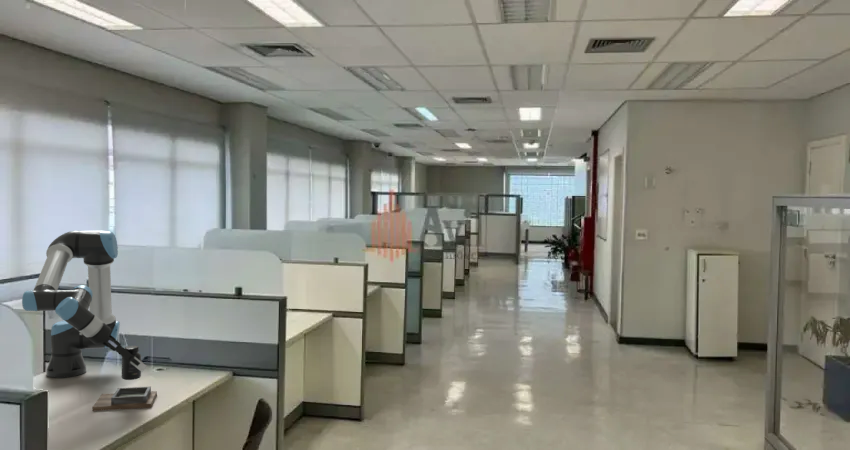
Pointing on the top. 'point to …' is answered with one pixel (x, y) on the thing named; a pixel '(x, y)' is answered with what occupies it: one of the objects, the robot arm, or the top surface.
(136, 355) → the supplement bottle
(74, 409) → the top surface
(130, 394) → the base board
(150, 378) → the top surface
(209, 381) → the top surface
